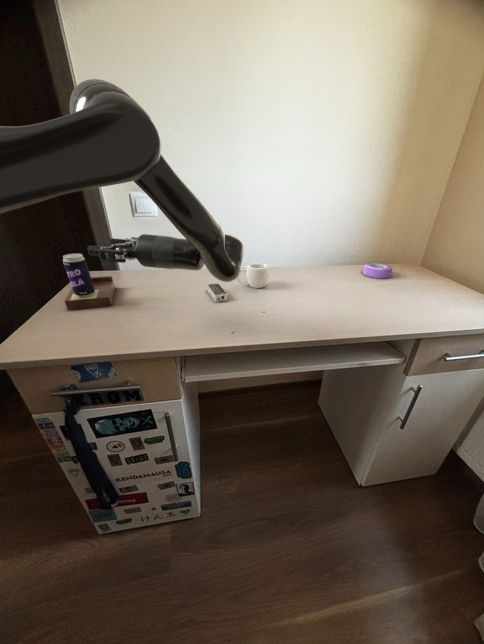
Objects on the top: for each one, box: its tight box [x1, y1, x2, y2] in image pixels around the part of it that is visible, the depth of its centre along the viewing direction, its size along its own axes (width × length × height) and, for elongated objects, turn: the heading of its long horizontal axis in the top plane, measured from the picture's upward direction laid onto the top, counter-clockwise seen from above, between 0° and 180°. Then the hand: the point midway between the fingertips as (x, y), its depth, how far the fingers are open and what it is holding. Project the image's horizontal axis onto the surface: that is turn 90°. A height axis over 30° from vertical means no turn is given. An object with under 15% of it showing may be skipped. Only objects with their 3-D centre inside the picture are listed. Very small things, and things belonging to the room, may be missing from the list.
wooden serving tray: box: [64, 275, 116, 311], centre depth 92 cm, size 12×16×4 cm
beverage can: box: [62, 252, 95, 297], centre depth 85 cm, size 6×6×12 cm
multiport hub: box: [206, 283, 229, 303], centre depth 98 cm, size 4×11×2 cm, turn 24°
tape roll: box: [362, 261, 393, 279], centre depth 124 cm, size 12×12×4 cm
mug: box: [236, 262, 270, 289], centre depth 106 cm, size 12×8×8 cm
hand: (100, 246), depth 70 cm, fingers open, 8 cm apart
